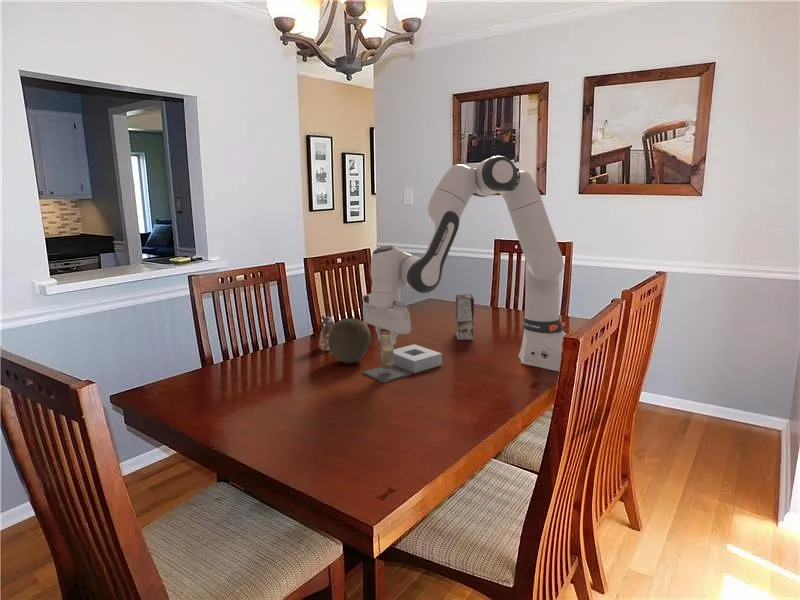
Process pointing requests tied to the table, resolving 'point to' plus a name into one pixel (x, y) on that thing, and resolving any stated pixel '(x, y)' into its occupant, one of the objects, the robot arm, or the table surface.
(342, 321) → the cantaloupe
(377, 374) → the mat
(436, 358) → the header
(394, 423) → the table surface
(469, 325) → the coffee box
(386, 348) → the peg
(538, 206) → the robot arm
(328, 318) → the figurine
